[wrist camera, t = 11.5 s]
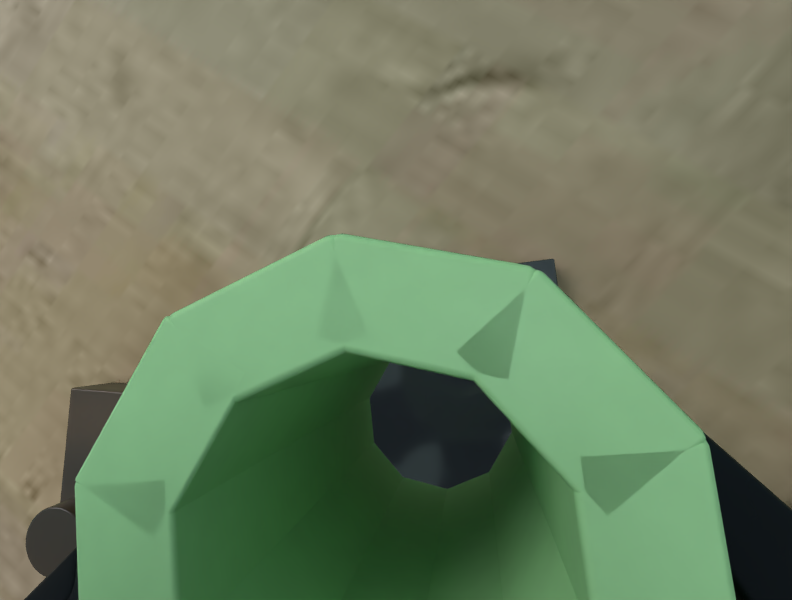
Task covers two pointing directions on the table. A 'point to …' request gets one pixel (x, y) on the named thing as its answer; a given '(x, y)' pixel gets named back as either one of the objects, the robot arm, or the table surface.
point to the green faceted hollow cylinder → (370, 469)
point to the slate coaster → (439, 421)
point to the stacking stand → (71, 476)
